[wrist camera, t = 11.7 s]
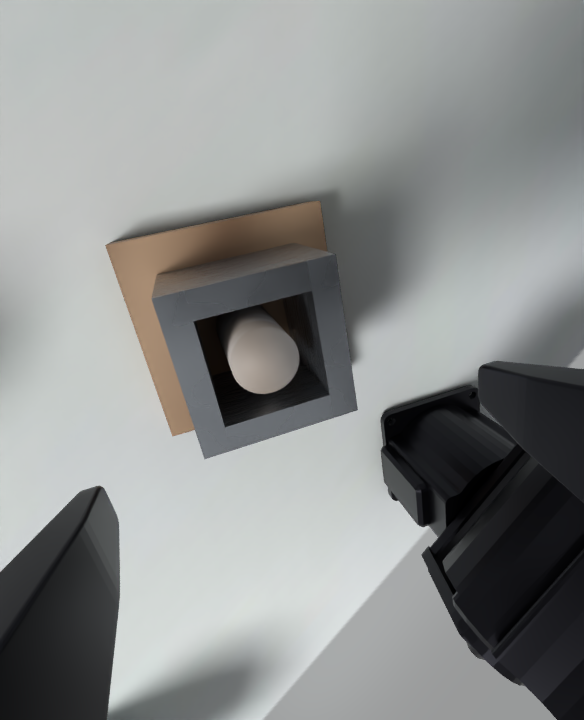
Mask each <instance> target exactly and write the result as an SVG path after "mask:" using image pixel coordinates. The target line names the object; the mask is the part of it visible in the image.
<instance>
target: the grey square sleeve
mask: <svg viewBox="0 0 584 720" xmlns="http://www.w3.org/2000/svg"><path fill="white" fill-rule="evenodd" d="M151 299H152V302H153V305H154V308H155V311H156V314H157V317H158V320H159V323H160V326H161V329H162V332H163V335H164V338H165V341H166V344H167V347H168V350H169V353H170V356H171V359H172V362H173V365H174V368H175V371H176V374H177V377H178V380H179V383H180V386H181V389H182V392H183V395H184V398H185V401H186V404H187V407H188V410H189V413H190V416H191V419H192V422H193V425H194V428H195V431H196V434H197V437H198V440H199V443H200V446H201V449H202V452H203V455H204V458H205V459H207V458H210V457H213V456H216V455H219V454H222V453H225V452H229V451H232V450H235V449H238V448H241V447H244V446H247V445H250V444H253V443H257V442H260V441H263V440H266V439H269V438H272V437H275V436H278V435H281V434H285V433H288V432H291V431H294V430H297V429H300V428H303V427H306V426H310V425H313V424H316V423H319V422H322V421H325V420H328V419H331V418H334V417H338V416H341V415H344V414H347V413H350V412H353V411H356V410H358V409H357V402H356V395H355V388H354V381H353V374H352V366H351V359H350V352H349V345H348V338H347V331H346V324H345V317H344V310H343V303H342V296H341V289H340V282H339V275H338V268H337V261H336V254H334V253H330V252H326V251H323V250H319V249H315V248H312V247H308V246H304V245H301V244H297V243H290V244H286V245H282V246H277V247H273V248H269V249H264V250H260V251H256V252H252V253H247V254H243V255H239V256H234V257H230V258H226V259H221V260H217V261H213V262H209V263H204V264H200V265H196V266H191V267H187V268H183V269H178V270H174V271H170V272H165V273H161V274H157V275H156V280H155V284H154V289H153V293H152V298H151ZM278 299H283V304H284V309H285V314H286V319H287V324H288V329H289V334H290V337H291V338H292V339H293V341H294V342H295V344H296V346H297V348H298V352H299V366H298V369H297V372H296V374H295V375H294V377H293V378H292V380H291V381H290V382H289V383H288V384H287V385H286V386H285V387H283V388H281V389H280V390H278V391H275V392H272V393H267V394H258V393H253V392H250V391H248V390H246V389H244V388H243V387H242V386H240V385H239V384H238V382H237V381H236V380H235V378H234V376H233V373H232V371H231V370H229V371H225V372H222V373H218V374H215V375H212V373H211V370H210V367H209V363H208V360H207V356H206V353H205V350H204V346H203V343H202V339H201V336H200V333H199V329H198V326H197V322H196V321H197V320H201V319H204V318H208V317H212V316H216V315H220V314H224V313H228V312H232V311H236V310H239V309H243V308H247V307H251V306H255V305H259V304H263V303H267V302H271V301H274V300H278Z"/></svg>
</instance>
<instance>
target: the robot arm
mask: <svg viewBox="0 0 584 720" xmlns="http://www.w3.org/2000/svg"><path fill="white" fill-rule="evenodd" d="M471 392H472V393H471ZM470 393H471V395H470V396H469V394H470ZM480 402H481V404H482V405H483V406H484V407H485V408H486V410H487V411H488V412H489V413H490V414H491V415H492V416H493V417H494V418H495V419H496V420H497V421H498V423H499V424H500V425H501V426H500V425H499V424H497V423H496V422H494V421H492V420H491V419H489V418H488V417H486V416H485V415H483V414H482V413H480ZM390 418H392V420H391V421H390V422H388V420H389V419H390ZM381 429H382V438H383V447H382V449H381V458H382V467H383V476H384V482H385V484H386V485H387V486H388V492H389V495H390V497H391V498H392V499H393V500H395V501H398V500H399V502H400V503H401V504H402V505H403V507H404V508H405V509H406V511H407V512H408V513H409V514H410V516H411V517H412V518H413V519H414V521H415V522H416V523H417V524H418V525H419V526H421V527H425V526H428V525H429V527H430V528H431V529H432V530H433V532H434V533H435V534H436V535H437V537H438V538H437V540H436V541H435V542H434V543H433V545H432V546H431V547H427V548H426V550H425V551H424V552H423V553H422V557H423V559H424V561H425V563H426V565H427V567H428V571H429V573H430V575H431V577H432V579H433V581H434V583H435V585H436V587H437V589H438V592H439V593H440V595H441V598H442V600H443V602H444V604H445V606H446V608H447V610H448V612H449V614H450V616H451V618H452V620H453V622H454V624H455V626H456V628H457V630H458V632H459V634H460V635H461V637H462V638H463V639H464V640H465V641H466V642H467V645H468V648H469V649H470V651H471V652H472V653H473V654H474V655H475V656H476V657H477V658H479V659H483V660H486V661H487V662H488V663H489V664H490V665H491V666H492V667H494V669H496V670H497V671H498V672H499V673H500V674H502V675H503V676H504V677H506V678H507V679H509V680H510V681H512V682H513V683H516V684H518V685H523V686H526V687H527V688H528V689H529V690H530V691H531V692H532V693H533V694H534V695H535V696H536V697H537V698H538V699H539V700H540V701H541V702H542V703H543V704H544V706H545V707H546V708H547V709H548V710H549V711H550V712H551V713H552V714H553V716H554V717H555V718H556V719H557V720H584V369H575V368H565V367H554V366H544V365H533V364H523V363H513V362H502V361H494V362H490V363H487V364H484V365H482V366H481V367H480V368H479V371H478V389H477V388H476V387H474V386H472V385H469V386H465V387H462V388H459V389H456V390H453V391H450V392H446V393H443V394H440V395H437V396H434V397H431V398H428V399H425V400H421V401H418V402H415V403H412V404H409V405H406V406H403V407H399V408H396V409H393V410H390V411H387V412H385V413H384V414H383V415H382V417H381ZM119 598H120V557H119V522H118V518H117V515H116V512H115V510H114V508H113V506H112V504H111V502H110V499H109V497H108V495H107V493H106V491H105V489H104V488H103V487H102V486H96V487H93V488H89V489H86V490H83V491H81V492H79V493H78V494H77V495H76V496H75V497H74V498H73V499H72V500H71V501H70V502H69V503H68V504H67V505H66V506H65V507H64V508H63V509H62V510H61V511H60V512H59V513H58V514H57V515H56V516H55V517H54V518H53V519H52V520H51V521H50V522H49V523H48V524H47V525H46V526H45V527H44V528H43V529H42V530H41V532H40V533H39V534H38V535H37V536H36V537H35V538H34V539H33V540H32V541H31V542H30V543H29V544H28V545H27V546H26V547H25V548H24V549H23V550H22V551H21V552H20V553H19V554H18V555H17V556H16V557H15V558H14V559H13V560H12V561H11V562H10V563H9V564H8V565H7V566H6V567H5V568H4V569H3V570H2V571H1V572H0V720H107V713H108V704H109V694H110V685H111V676H112V666H113V657H114V648H115V638H116V629H117V620H118V610H119Z"/></svg>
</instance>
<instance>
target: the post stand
mask: <svg viewBox="0 0 584 720" xmlns="http://www.w3.org/2000/svg"><path fill="white" fill-rule="evenodd" d="M290 243H297V244H301V245H304V246H308V247H312V248H315V249H319V250H323V251H326V252H327V246H326V239H325V232H324V225H323V218H322V211H321V204H320V201H310V202H305V203H300V204H295V205H290V206H285V207H281V208H276V209H271V210H266V211H261V212H256V213H251V214H247V215H242V216H237V217H232V218H227V219H222V220H218V221H213V222H208V223H203V224H198V225H193V226H188V227H184V228H179V229H174V230H169V231H164V232H159V233H154V234H150V235H145V236H140V237H135V238H130V239H125V240H121V241H116V242H111V243H109V244H107V245H105V246H106V249H107V251H108V254H109V257H110V260H111V263H112V266H113V268H114V271H115V274H116V277H117V280H118V283H119V285H120V288H121V291H122V294H123V297H124V300H125V302H126V305H127V308H128V311H129V314H130V317H131V320H132V322H133V325H134V328H135V331H136V334H137V337H138V339H139V342H140V345H141V348H142V351H143V354H144V356H145V359H146V362H147V365H148V368H149V371H150V374H151V376H152V379H153V382H154V385H155V388H156V391H157V393H158V396H159V399H160V402H161V405H162V408H163V410H164V413H165V416H166V419H167V422H168V425H169V427H170V430H171V433H172V436H176V435H179V434H182V433H186V432H189V431H192V430H195V428H194V425H193V422H192V419H191V416H190V413H189V410H188V407H187V404H186V401H185V398H184V395H183V392H182V389H181V386H180V383H179V380H178V377H177V374H176V371H175V368H174V365H173V362H172V359H171V356H170V353H169V350H168V347H167V344H166V341H165V338H164V335H163V332H162V329H161V326H160V323H159V320H158V317H157V314H156V311H155V308H154V305H153V302H152V299H151V298H152V293H153V289H154V284H155V280H156V275H157V274H161V273H165V272H170V271H174V270H178V269H183V268H187V267H191V266H196V265H200V264H204V263H209V262H213V261H217V260H221V259H226V258H230V257H234V256H239V255H243V254H247V253H252V252H256V251H260V250H264V249H269V248H273V247H277V246H282V245H286V244H290ZM196 322H197V326H198V329H199V333H200V336H201V339H202V343H203V346H204V350H205V353H206V356H207V360H208V363H209V367H210V370H211V373H212V375H215V374H218V373H222V372H225V371H229V370H231V371H232V373H233V376H234V378H235V380H236V381H237V382H238V384H239V385H240V386H242V387H243V388H244V389H246V390H248V391H250V392H253V393H258V394H267V393H272V392H275V391H278V390H280V389H281V388H283V387H285V386H286V385H287V384H288V383H289V382H290V381H291V380H292V378H293V377H294V375H295V374H296V372H297V369H298V366H299V352H298V348H297V346H296V344H295V342H294V341H293V339H292V338H291V337H290V334H289V329H288V324H287V319H286V314H285V309H284V304H283V299H278V300H274V301H271V302H267V303H263V304H259V305H255V306H251V307H247V308H243V309H239V310H236V311H232V312H228V313H224V314H220V315H216V316H212V317H208V318H204V319H201V320H197V321H196Z"/></svg>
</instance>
